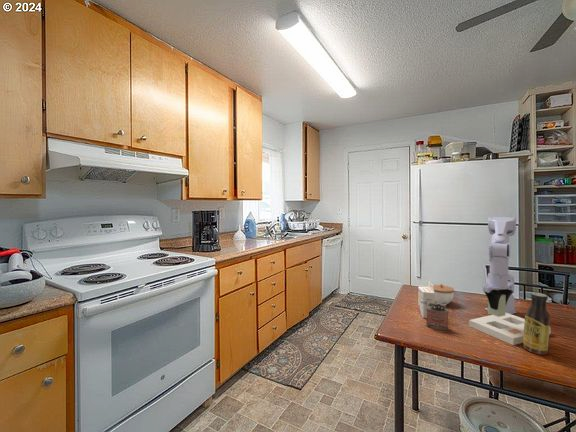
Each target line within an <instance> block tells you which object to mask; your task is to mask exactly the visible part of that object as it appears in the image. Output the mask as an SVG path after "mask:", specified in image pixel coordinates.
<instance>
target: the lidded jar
mask: <svg viewBox="0 0 576 432" xmlns="http://www.w3.org/2000/svg"><path fill="white" fill-rule="evenodd" d="M433 285H434V291H435V304H436V303H440V304H444V305H445V306H447V304H448V305H449V304H450V303H451V302H452V301H453V300H454V293H455V289H454V288H453V287H451V286H449V285H445V284H433ZM431 287H432V286H431Z"/></svg>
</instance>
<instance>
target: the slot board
mask: <svg viewBox="0 0 576 432" xmlns="http://www.w3.org/2000/svg"><path fill="white" fill-rule="evenodd" d="M524 323H525V318H523V317H520V316H517V315H514V314H509V313H506V312H505V316H500V317H497V316H495V315H492V314H488V315H485V316H481V317H477V318H472V319H469V320H468V326H469V327H471V328H472V329H475V330H478V331H479V332H482V333H484V334H486V335H489V336H491V337H493V338H495V339H498V340H501V341H502V342H505V343H507V344H510V345H512V346H516V345H520V344H523V336H524ZM551 330H552V329H551V327H550V330H549V336H550V335H551Z"/></svg>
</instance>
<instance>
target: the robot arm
mask: <svg viewBox="0 0 576 432" xmlns="http://www.w3.org/2000/svg"><path fill="white" fill-rule="evenodd" d="M487 226H488V227H487V229H488V233H489V234H490V235H491V239H490V243H489V244H488V258H489V259H488V260H489V272H488V274H487V278H486V285H483V286H482V292H483V293H484V294H485V296H486V298H487V301H488V300H489V304H490V307H491V308H492V309H495V310H497V309H498V304H499V299H500V297H501V295H502V294H504V295H506V306H505V312H506V313H509V314H512V315H514V314H516V313H517V310H516V311H515V302H516V300H515V296H514V293H515V281H514V280H515V278H514V276H513V275H512V274H510V273H509V263H510V262H509V260H510V258H511V245H510V237H511V236H512V237H513V236H515V234H516V229H517V218H516V217H515V216H513V217H512V216H511V217H508V216H488V219H487ZM485 311H488V307H485Z"/></svg>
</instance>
